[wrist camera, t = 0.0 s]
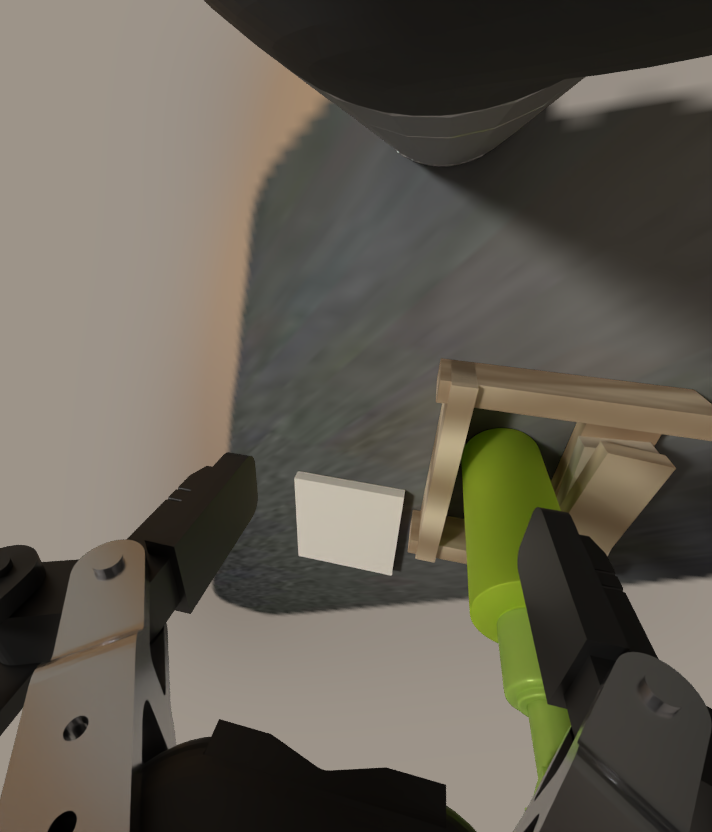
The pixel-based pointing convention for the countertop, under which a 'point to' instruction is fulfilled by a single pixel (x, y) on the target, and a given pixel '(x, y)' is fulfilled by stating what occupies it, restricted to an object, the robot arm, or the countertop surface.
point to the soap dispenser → (508, 569)
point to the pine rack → (543, 398)
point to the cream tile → (347, 521)
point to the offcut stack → (608, 479)
